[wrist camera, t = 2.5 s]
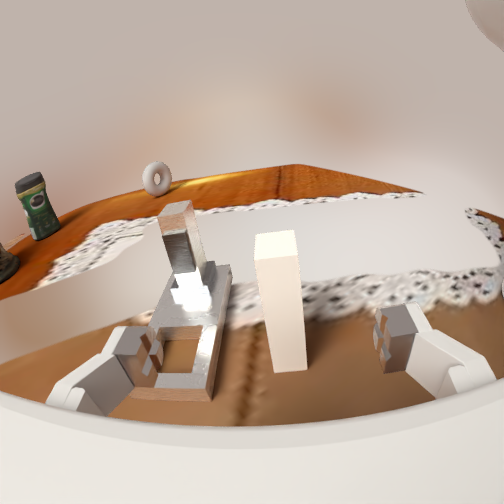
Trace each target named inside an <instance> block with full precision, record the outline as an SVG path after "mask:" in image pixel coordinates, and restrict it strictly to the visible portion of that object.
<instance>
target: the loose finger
mask: <svg viewBox="0 0 504 504" xmlns="http://www.w3.org/2000/svg"><path fill="white" fill-rule="evenodd" d="M254 252H255V253H254V264H255V269H256V275H257V280H258V286H259V291H260V297H261V302H262V308H263V313H264V319H265V324H266V330H267V335H268V341H269V346H270V352H271V357H272V363H273V368H274V373H279V372H290V371H300V370H307V356H306V342H305V328H304V316H303V304H302V292H301V281H300V272H299V262H298V252H297V246H296V240H295V234H294V230H287V231H279V232H271V233H263V234H256V239H255V251H254Z"/></svg>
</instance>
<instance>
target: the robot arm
mask: <svg viewBox="0 0 504 504" xmlns="http://www.w3.org/2000/svg"><path fill="white" fill-rule="evenodd" d="M465 2H466V5H467V8H468V11H469V13H470V15H471V17H472V19H473V20H474V22H475V24H476V25H477V26H478V28H479V29H480V30H481V32H482V33H483V34H484V35H485V36H486V37H487V38H488V39H489V40H490V41H491V42H493V43H494V44H495V45H497V46H498V47H499V48H500V49H501V50H502V51H503V52H504V0H465ZM502 293H503V297H504V279H503V282H502ZM375 318H376V320H377V323H376V324H375V326H374V331H373V339H374V345H375V349H376V351H377V352H378V353H380V358H379V361H380V364H381V367H382V370H383V374H385V373H392V372H398V371H404V370H406V372H407V373H408V374H409V375H410V376H411V377H413V378H414V379H415V380H416V381H417V382H418V383H419V384H421V385H422V386H423V387H424V388H425V389H426V390H427V391H429V392H430V393H431V394H432V395H433V396H434V397H435V398H436V399H435V400H434V401H430V402H426V403H422V404H418V405H414V406H410V407H405V408H401V409H396V410H391V411H386V412H381V413H376V414H370V415H365V416H358V417H352V418H345V419H338V420H330V421H322V422H313V423H302V424H290V425H274V426H245V427H218V426H189V425H173V424H161V423H150V422H141V421H133V420H125V419H118V418H111V417H107V416H108V415H109V414H110V413H111V412H112V411H113V410H114V409H115V408H116V407H117V406H118V405H119V404H120V403H121V402H122V401H123V400H124V399H125V398H126V396H127V395H128V394H129V393H130V392H131V391H132V390H133V389H134V387H145V388H154V386H155V383H156V380H157V377H158V373H157V371H156V370H157V369H158V368H160V367H161V365H162V362H163V349H162V346H161V343H160V342H159V341H157V340H156V339H155V337H156V332H155V330H154V328H153V327H151V326H117V327H116V328H115V329H114V331H113V332H112V334H111V336H110V338H109V340H108V341H107V343H106V345H105V347H104V349H103V351H102V353H101V354H97V355H95V356H94V357H92V358H91V359H90V360H88V361H87V362H85V363H84V364H83V365H81V366H80V367H78V368H77V369H75V370H74V371H73V372H71V373H70V374H68V375H67V376H66V377H64V378H63V379H61V380H60V381H58V382H57V383H56V384H55V386H54V388H53V390H52V392H51V394H50V395H49V397H48V399H47V401H46V403H45V404H43V403H39V402H36V401H32V400H28V399H25V398H21V397H18V396H15V395H12V394H8V393H5V392H2V391H0V504H504V378H501V379H499V380H497V379H496V377H495V375H494V373H493V372H492V370H491V368H490V366H489V364H488V363H487V361H486V359H485V357H484V356H482V355H480V354H478V353H477V352H475V351H473V350H472V349H470V348H468V347H466V346H465V345H463V344H461V343H459V342H458V341H456V340H454V339H452V338H451V337H449V336H447V335H445V334H444V333H442V332H440V331H438V330H437V329H435V330H433V329H432V327H431V326H430V324H429V322H428V320H427V318H426V317H425V315H424V313H423V311H422V310H421V308H420V306H419V305H418V303H417V302H416V301H414V302H409V303H403V304H399V305H393V306H386V307H380V308H377V310H376V314H375Z"/></svg>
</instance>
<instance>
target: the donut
mask: <svg viewBox="0 0 504 504" xmlns="http://www.w3.org/2000/svg"><path fill="white" fill-rule="evenodd" d="M156 173H158V174H159V175H160V183H159V184H158V185H156V184H155V182H154V176H155V174H156ZM171 180H172V176H171V172H170V169H169V168H168V166H166V165H165V164H164V163H163V162H158V161H156V162H152V163H150V164H149V165H148V166H147V167H146V168H145V170H144V172H143V176H142V182H143V186H144V189H145V190H146V191H147V192H148V194H150V195H152V196H161V195H163V194H165V193H166V192H167V191H168V190H169V188H170V186H171Z"/></svg>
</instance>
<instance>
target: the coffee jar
mask: <svg viewBox="0 0 504 504" xmlns="http://www.w3.org/2000/svg"><path fill="white" fill-rule="evenodd" d="M45 187H46V185H45V181H44V178H43V176H42V174H41V173H40V172H36V173H33V174H30V175H28V176H26V177H24V178H22V179H21V180H19V181H18V182H16V183H15V188H16V193H17V197H18V199H19V200H20V201H21V203H22V205H23V208H24V211H25V214H26V217H27V221H28V224H29V228H30V231H31V234H32V237H33V239H34V240H36V241H37V240H41V239H43V238H46V237H48V236H49V235H51V234H53V233H54V232H56V231H57V230H58V229H59V228H60V223H59V220H58V218H57V216H56V214H55V212H54V210H53V208H52V206H51V204H50V202H49V199H48V196H47V193H46V189H45Z"/></svg>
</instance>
